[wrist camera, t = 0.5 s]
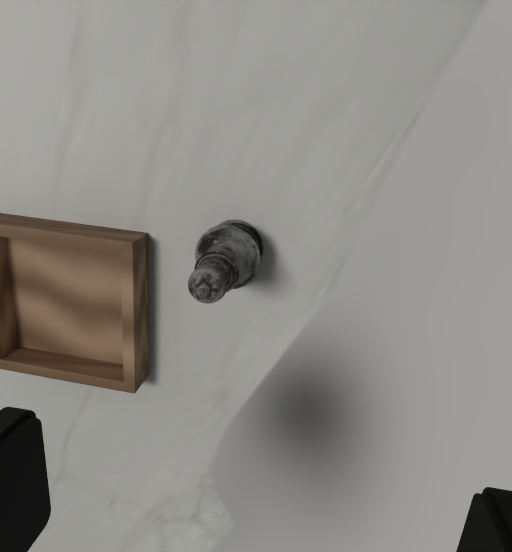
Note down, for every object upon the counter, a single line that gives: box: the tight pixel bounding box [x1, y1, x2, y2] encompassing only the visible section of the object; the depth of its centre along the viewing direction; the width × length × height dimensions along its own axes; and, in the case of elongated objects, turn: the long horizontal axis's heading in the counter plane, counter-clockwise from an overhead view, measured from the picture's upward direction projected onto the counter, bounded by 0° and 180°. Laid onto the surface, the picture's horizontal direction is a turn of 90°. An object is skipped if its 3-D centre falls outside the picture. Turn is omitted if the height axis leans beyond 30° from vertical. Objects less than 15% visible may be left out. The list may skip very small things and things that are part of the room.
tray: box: [0, 213, 148, 393], centre depth 43 cm, size 16×16×4 cm
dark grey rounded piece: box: [188, 220, 263, 303], centre depth 35 cm, size 6×6×12 cm
